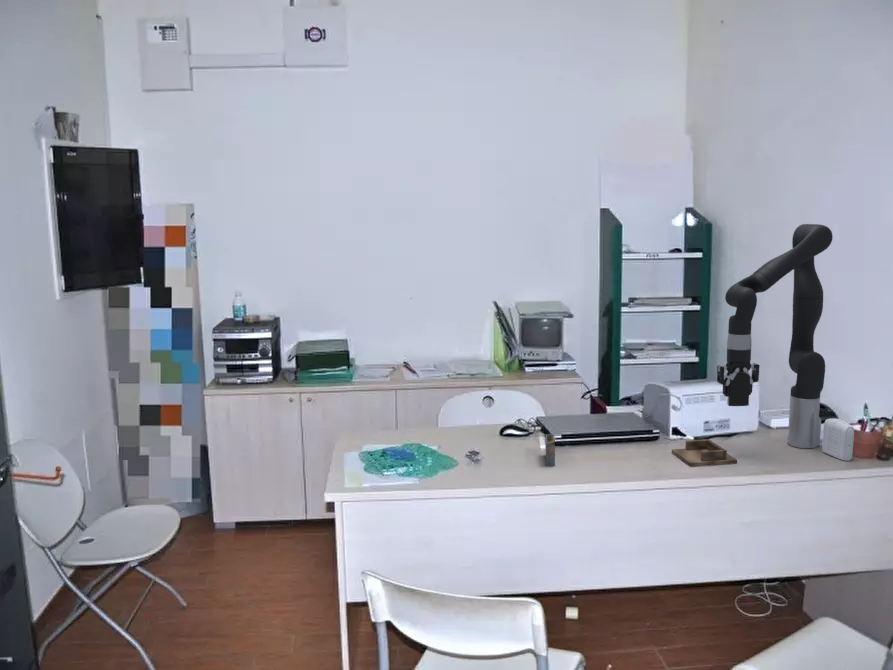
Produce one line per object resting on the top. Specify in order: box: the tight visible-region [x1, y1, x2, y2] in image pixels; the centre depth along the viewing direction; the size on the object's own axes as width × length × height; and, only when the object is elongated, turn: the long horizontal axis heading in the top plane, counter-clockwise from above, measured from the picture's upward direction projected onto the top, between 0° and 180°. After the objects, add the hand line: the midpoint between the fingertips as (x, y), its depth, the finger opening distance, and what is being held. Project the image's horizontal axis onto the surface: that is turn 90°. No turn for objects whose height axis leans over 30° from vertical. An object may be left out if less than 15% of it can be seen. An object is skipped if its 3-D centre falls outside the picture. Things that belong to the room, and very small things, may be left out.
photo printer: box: [821, 417, 855, 462], centre depth 253 cm, size 10×4×12 cm, turn 17°
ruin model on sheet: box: [545, 434, 557, 468], centre depth 255 cm, size 11×3×10 cm, turn 175°
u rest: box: [671, 438, 738, 468], centre depth 255 cm, size 16×14×4 cm
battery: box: [726, 372, 751, 407], centre depth 257 cm, size 7×4×11 cm, turn 88°
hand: (737, 395), depth 257 cm, fingers closed on battery, 7 cm apart
